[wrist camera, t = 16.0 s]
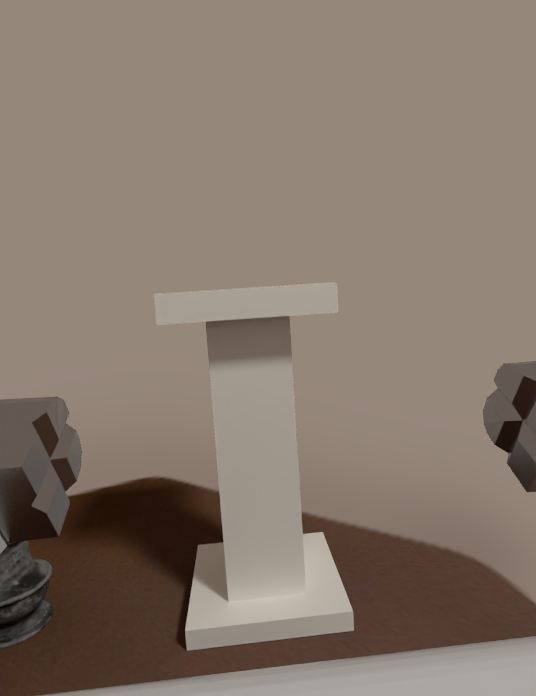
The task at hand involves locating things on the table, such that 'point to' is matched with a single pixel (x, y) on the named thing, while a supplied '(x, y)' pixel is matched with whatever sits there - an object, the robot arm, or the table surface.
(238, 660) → the table surface
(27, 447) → the robot arm
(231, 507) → the pedestal shelf
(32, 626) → the dark tall tiered piece
